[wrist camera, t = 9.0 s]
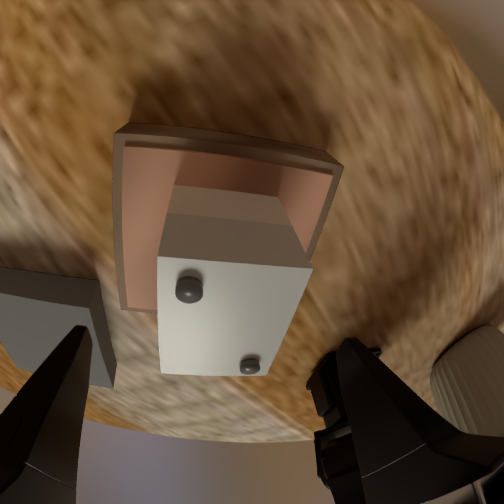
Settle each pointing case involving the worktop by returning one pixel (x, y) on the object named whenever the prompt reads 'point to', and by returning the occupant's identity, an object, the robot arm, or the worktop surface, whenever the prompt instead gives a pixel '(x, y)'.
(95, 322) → the slate stand
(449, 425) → the robot arm
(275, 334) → the two-plate housing
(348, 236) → the worktop surface
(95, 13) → the worktop surface
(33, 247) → the worktop surface
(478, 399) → the canister
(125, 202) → the brown square tray
